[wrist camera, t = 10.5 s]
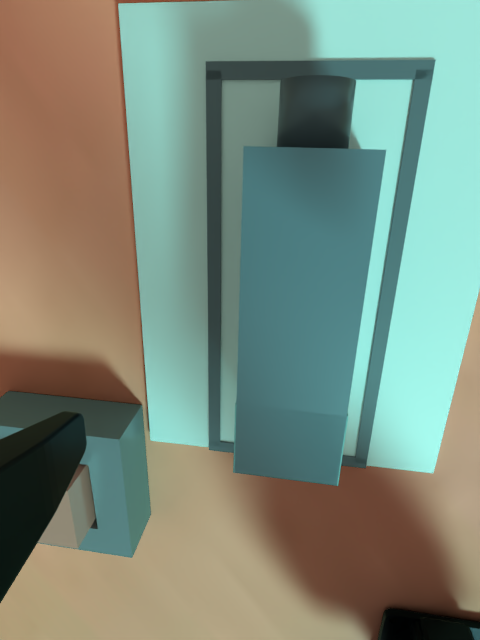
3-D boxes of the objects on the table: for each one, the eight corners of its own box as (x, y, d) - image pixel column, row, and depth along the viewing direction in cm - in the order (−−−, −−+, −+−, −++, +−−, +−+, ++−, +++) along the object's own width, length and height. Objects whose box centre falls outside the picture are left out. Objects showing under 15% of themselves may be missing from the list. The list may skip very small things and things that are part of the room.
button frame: (150, 514, 25) (132, 557, 23) (31, 497, 26) (0, 537, 24) (142, 405, 22) (119, 439, 20) (8, 390, 23) (-31, 422, 21)
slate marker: (330, 411, 20) (337, 485, 16) (249, 403, 21) (233, 472, 16) (371, 93, 15) (400, 66, 11) (261, 92, 16) (244, 66, 11)
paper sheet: (430, 469, 21) (433, 476, 21) (152, 437, 23) (149, 443, 23) (547, -4, 14) (555, -10, 13) (122, 7, 16) (116, 2, 15)
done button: (104, 502, 24) (78, 548, 21) (43, 494, 24) (9, 538, 21) (97, 449, 22) (67, 491, 19) (32, 441, 23) (-6, 481, 20)
